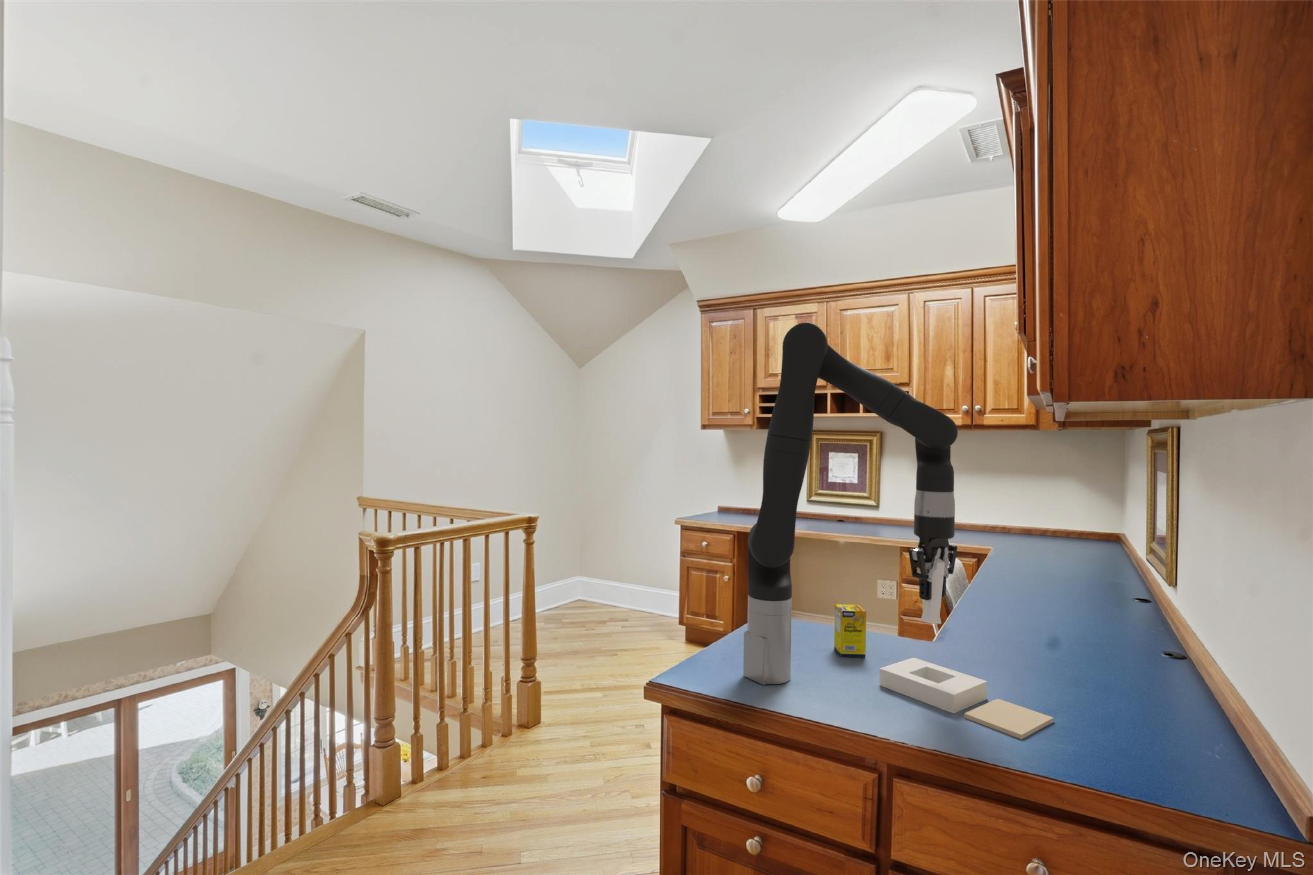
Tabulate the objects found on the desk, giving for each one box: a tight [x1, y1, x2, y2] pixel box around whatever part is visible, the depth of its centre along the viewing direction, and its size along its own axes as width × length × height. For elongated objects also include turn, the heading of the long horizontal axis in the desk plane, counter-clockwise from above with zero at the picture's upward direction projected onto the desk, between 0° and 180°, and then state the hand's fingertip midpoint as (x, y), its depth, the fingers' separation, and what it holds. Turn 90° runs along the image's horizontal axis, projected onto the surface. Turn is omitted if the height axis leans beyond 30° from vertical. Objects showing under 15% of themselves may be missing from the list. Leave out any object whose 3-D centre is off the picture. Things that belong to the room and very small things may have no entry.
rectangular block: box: [879, 657, 988, 714], centre depth 127 cm, size 12×16×4 cm
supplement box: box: [833, 603, 867, 658], centre depth 149 cm, size 6×6×11 cm
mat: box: [963, 698, 1054, 740], centre depth 115 cm, size 12×10×1 cm
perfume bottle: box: [920, 558, 945, 625], centre depth 127 cm, size 5×4×15 cm
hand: (932, 597), depth 127 cm, fingers closed on perfume bottle, 4 cm apart
